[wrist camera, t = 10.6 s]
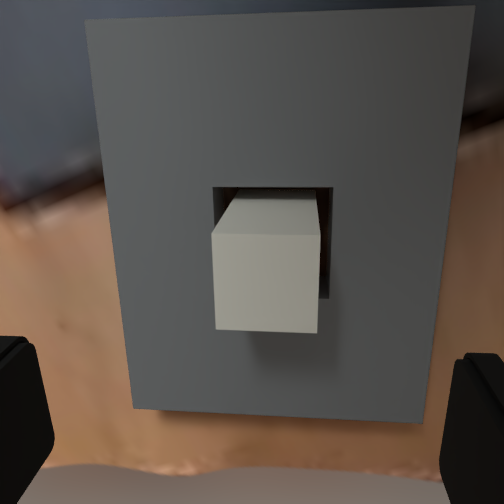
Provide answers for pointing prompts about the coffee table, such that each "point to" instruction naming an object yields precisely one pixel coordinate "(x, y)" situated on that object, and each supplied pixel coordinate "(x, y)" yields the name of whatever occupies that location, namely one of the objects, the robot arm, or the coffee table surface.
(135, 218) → the socket plate
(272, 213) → the plug
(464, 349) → the coffee table surface
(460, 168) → the coffee table surface
